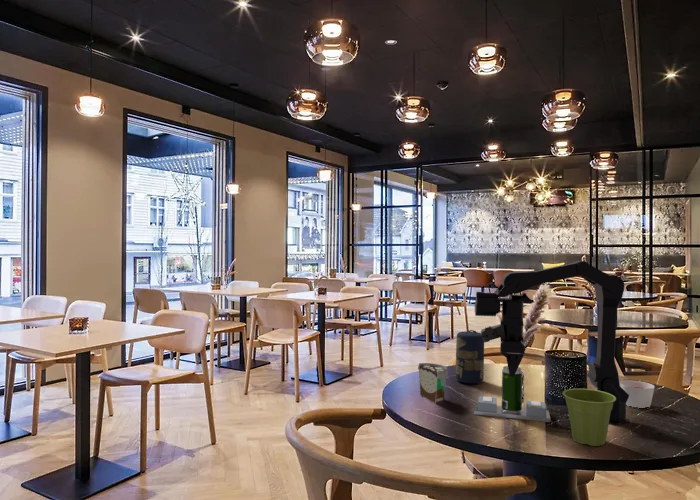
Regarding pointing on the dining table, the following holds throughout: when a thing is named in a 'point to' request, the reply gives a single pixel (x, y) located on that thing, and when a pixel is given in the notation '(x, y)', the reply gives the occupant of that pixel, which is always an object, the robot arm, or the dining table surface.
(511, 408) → the beer can
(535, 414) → the module
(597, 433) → the plant pot
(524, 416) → the rail
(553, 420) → the dining table surface
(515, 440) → the dining table surface
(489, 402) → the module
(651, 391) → the white tapered cup
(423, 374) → the food container
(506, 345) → the robot arm
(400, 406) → the dining table surface
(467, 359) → the canister
